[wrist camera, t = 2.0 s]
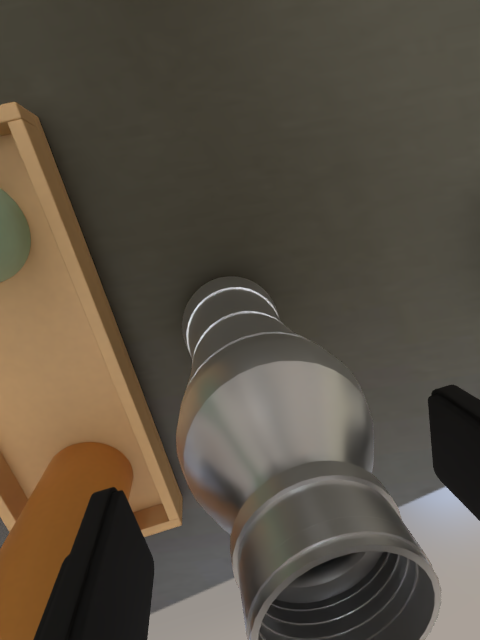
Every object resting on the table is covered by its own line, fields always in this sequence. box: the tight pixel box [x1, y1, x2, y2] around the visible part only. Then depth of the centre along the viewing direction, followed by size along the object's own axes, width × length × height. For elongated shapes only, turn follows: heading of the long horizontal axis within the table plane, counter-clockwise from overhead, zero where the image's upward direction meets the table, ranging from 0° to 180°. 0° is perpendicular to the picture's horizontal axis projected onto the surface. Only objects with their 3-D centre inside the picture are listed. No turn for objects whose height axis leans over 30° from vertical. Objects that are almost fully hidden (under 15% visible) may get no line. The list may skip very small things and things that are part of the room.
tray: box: [0, 102, 182, 537], centre depth 23 cm, size 30×12×3 cm, turn 14°
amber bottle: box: [0, 442, 133, 640], centre depth 16 cm, size 6×6×20 cm
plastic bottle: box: [176, 276, 441, 640], centre depth 15 cm, size 6×7×20 cm
